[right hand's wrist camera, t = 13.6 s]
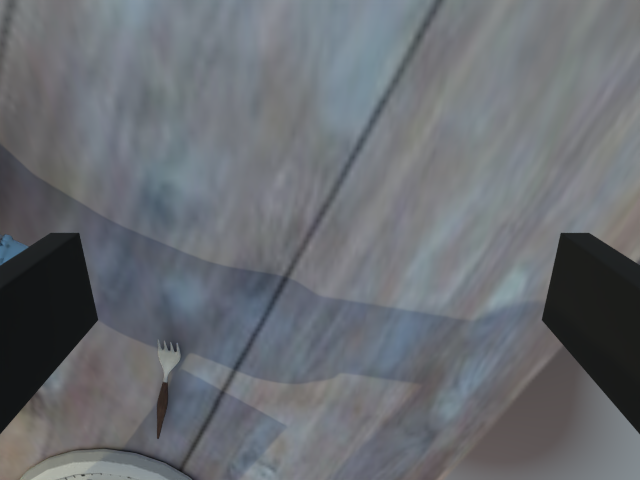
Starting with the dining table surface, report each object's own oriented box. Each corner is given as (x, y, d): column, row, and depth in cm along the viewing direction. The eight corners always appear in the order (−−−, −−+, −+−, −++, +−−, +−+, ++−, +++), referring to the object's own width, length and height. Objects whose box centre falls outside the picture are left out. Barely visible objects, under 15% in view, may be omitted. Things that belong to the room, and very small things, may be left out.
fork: (148, 433, 56) (142, 446, 54) (161, 328, 50) (155, 339, 48) (169, 437, 56) (164, 450, 54) (184, 333, 50) (179, 343, 48)
